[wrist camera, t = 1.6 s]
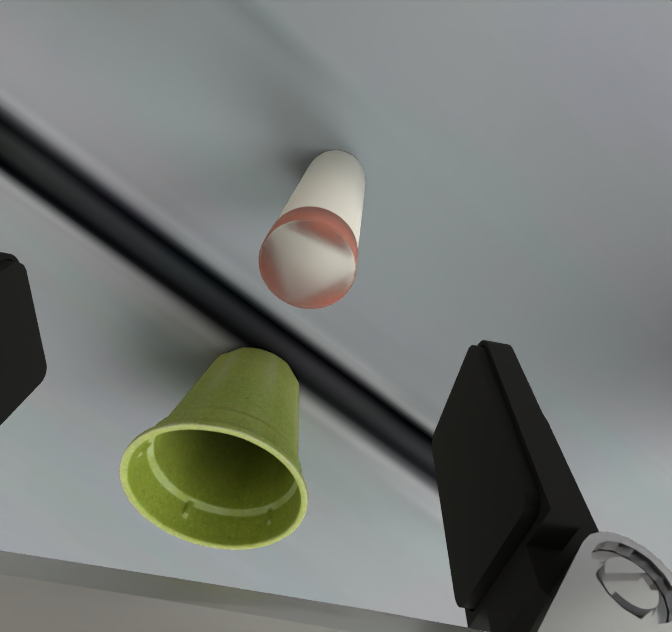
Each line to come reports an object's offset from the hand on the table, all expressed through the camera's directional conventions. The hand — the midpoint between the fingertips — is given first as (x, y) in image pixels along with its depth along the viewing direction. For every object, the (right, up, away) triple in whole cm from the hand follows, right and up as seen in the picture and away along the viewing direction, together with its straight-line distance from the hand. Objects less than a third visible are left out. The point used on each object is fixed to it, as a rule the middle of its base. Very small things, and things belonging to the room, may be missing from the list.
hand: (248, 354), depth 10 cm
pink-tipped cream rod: (+2, +8, +13) cm, 15 cm away
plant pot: (-4, -3, +20) cm, 21 cm away
